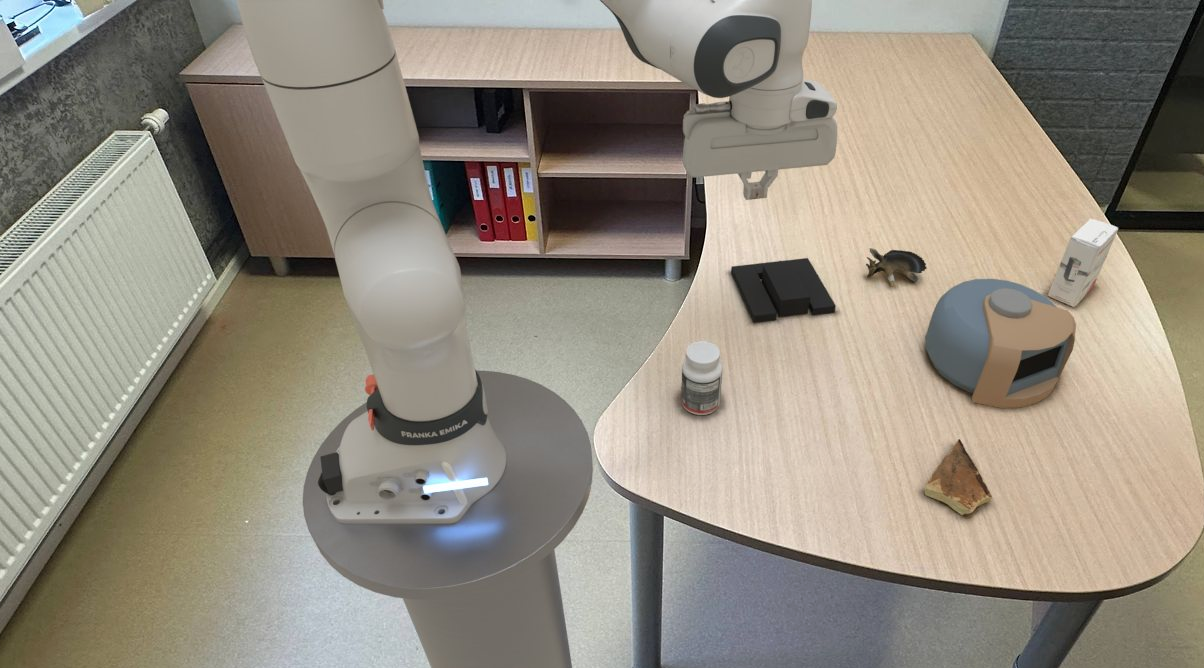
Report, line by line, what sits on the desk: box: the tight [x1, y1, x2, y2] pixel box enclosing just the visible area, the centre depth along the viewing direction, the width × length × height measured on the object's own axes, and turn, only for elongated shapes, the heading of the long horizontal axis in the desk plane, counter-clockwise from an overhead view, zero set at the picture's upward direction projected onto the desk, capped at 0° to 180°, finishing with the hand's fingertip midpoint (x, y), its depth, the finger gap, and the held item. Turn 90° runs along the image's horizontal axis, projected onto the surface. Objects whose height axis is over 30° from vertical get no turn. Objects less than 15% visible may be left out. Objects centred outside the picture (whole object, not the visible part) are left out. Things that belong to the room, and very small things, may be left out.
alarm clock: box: [924, 278, 1077, 409], centre depth 117 cm, size 19×20×12 cm
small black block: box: [761, 262, 810, 318], centre depth 131 cm, size 5×10×4 cm, turn 12°
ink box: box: [1047, 218, 1119, 308], centre depth 131 cm, size 9×5×12 cm, turn 137°
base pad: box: [730, 257, 837, 324], centre depth 133 cm, size 14×14×2 cm
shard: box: [924, 438, 993, 516], centre depth 103 cm, size 11×8×2 cm
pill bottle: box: [680, 340, 724, 416], centre depth 111 cm, size 6×6×10 cm
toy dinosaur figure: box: [865, 247, 928, 288], centre depth 135 cm, size 8×7×9 cm
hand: (754, 197), depth 108 cm, fingers closed
